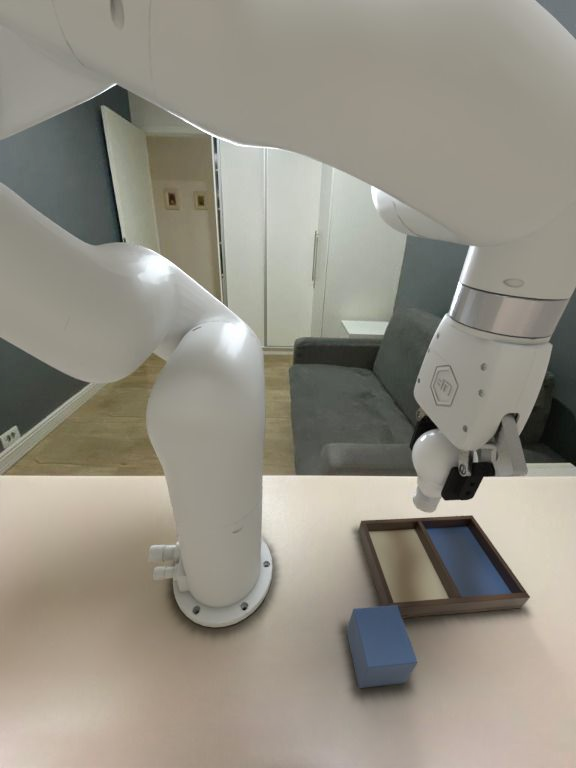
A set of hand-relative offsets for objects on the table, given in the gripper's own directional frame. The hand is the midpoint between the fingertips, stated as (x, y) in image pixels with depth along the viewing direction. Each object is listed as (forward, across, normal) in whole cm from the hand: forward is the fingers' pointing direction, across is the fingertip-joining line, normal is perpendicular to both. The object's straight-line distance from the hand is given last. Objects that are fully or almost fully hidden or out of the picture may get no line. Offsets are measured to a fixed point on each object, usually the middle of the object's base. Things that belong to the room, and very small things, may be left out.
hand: (437, 470), depth 34 cm
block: (+18, +9, -7) cm, 21 cm away
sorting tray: (+18, 0, +4) cm, 18 cm away
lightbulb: (+6, 0, 0) cm, 6 cm away
